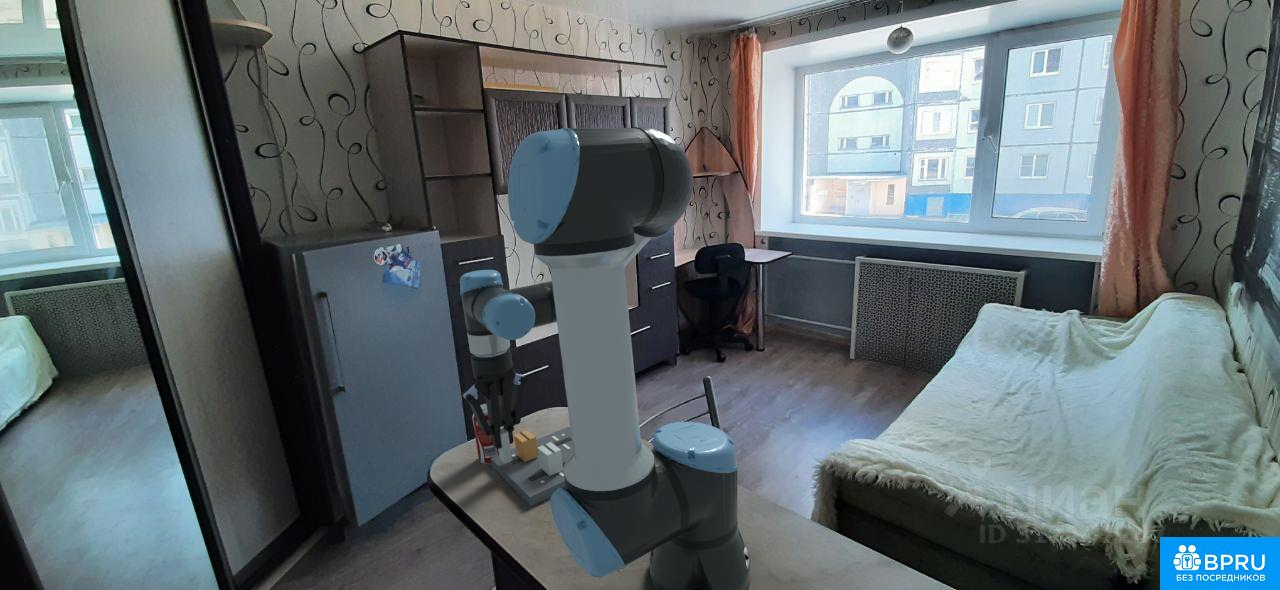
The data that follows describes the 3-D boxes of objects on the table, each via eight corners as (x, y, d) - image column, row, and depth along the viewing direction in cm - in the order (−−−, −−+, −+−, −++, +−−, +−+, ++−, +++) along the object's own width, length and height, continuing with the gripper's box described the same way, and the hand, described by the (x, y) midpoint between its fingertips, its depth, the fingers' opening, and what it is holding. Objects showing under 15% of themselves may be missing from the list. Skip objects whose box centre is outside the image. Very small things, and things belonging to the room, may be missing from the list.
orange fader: (538, 457, 111) (535, 436, 110) (525, 462, 109) (522, 441, 108) (529, 449, 114) (526, 429, 113) (516, 454, 112) (513, 434, 111)
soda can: (483, 452, 118) (476, 403, 115) (506, 452, 118) (499, 402, 115) (475, 466, 113) (467, 414, 110) (499, 465, 113) (492, 413, 110)
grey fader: (563, 470, 106) (560, 449, 104) (549, 476, 104) (547, 454, 103) (553, 462, 109) (550, 441, 107) (540, 468, 107) (537, 446, 106)
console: (614, 466, 110) (613, 457, 109) (531, 506, 99) (529, 496, 98) (569, 434, 124) (568, 426, 123) (491, 466, 112) (490, 457, 112)
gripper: (513, 337, 109) (526, 441, 115) (450, 355, 102) (467, 464, 108) (530, 346, 103) (543, 454, 109) (464, 365, 96) (482, 480, 102)
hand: (505, 459), depth 108 cm, fingers closed
